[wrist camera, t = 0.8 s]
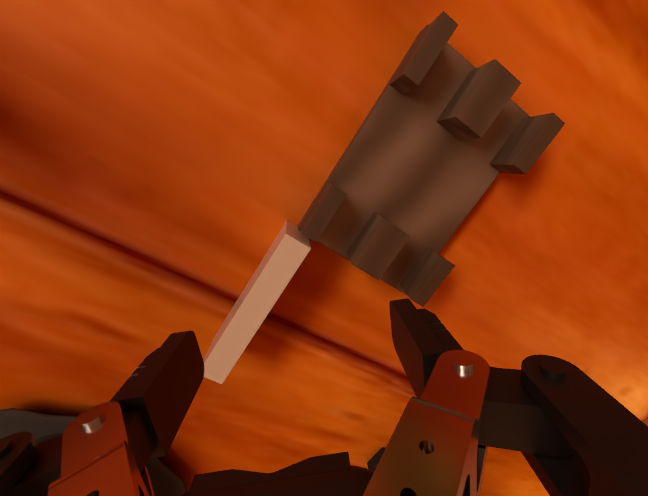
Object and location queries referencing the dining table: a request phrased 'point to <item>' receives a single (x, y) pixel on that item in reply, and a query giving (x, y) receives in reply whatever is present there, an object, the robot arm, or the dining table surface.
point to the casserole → (51, 426)
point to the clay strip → (256, 301)
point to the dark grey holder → (424, 163)
